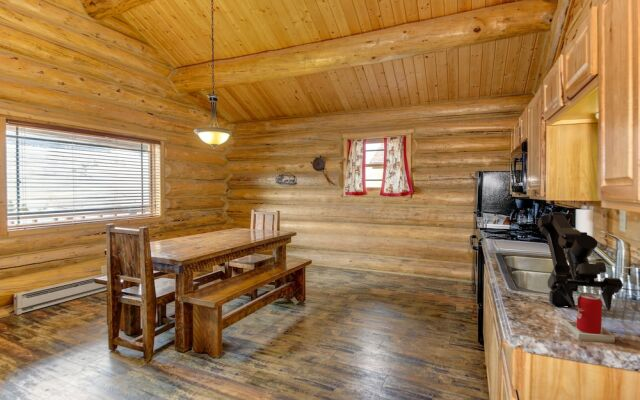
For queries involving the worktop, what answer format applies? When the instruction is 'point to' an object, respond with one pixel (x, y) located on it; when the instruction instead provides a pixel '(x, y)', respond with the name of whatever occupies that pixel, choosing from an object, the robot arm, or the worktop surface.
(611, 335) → the tray
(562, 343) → the worktop surface
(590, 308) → the beverage can
